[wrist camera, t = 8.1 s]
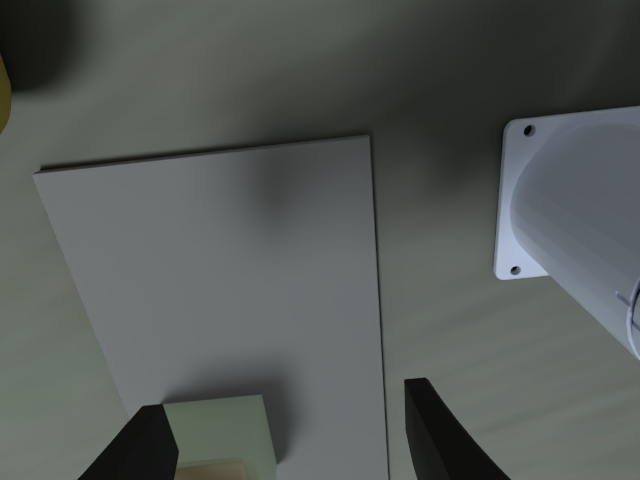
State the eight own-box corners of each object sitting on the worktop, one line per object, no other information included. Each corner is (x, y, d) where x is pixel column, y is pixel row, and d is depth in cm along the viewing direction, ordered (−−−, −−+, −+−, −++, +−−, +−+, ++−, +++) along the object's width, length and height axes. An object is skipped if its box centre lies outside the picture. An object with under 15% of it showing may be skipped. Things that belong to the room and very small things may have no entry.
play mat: (367, 134, 19) (369, 137, 19) (387, 487, 29) (389, 496, 29) (39, 170, 19) (31, 174, 19) (171, 508, 29) (168, 516, 29)
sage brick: (261, 394, 25) (253, 455, 21) (277, 465, 27) (272, 530, 23) (159, 404, 25) (133, 467, 21) (183, 474, 27) (164, 540, 24)
